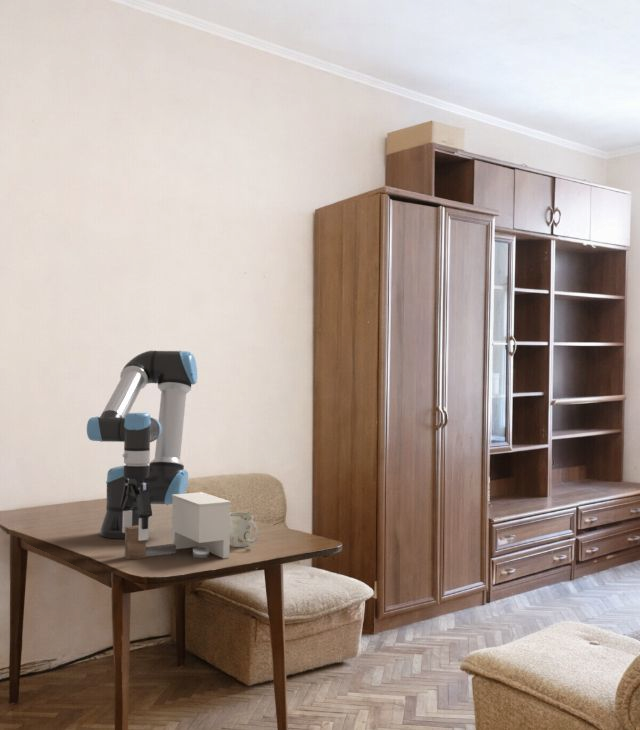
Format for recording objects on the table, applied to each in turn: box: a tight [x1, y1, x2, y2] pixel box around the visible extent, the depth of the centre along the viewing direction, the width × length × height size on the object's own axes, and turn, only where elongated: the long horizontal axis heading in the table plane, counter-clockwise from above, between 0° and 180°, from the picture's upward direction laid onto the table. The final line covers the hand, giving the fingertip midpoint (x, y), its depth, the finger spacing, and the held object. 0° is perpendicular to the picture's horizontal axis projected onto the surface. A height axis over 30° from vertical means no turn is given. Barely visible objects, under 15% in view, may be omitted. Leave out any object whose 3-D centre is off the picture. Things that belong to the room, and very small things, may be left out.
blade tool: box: [124, 525, 177, 560], centre depth 237 cm, size 4×15×9 cm, turn 124°
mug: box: [230, 511, 259, 548], centre depth 251 cm, size 8×13×10 cm, turn 51°
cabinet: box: [171, 491, 232, 559], centre depth 241 cm, size 20×10×17 cm, turn 34°
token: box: [192, 547, 210, 559], centre depth 237 cm, size 5×5×2 cm
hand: (135, 536), depth 234 cm, fingers open, 13 cm apart
